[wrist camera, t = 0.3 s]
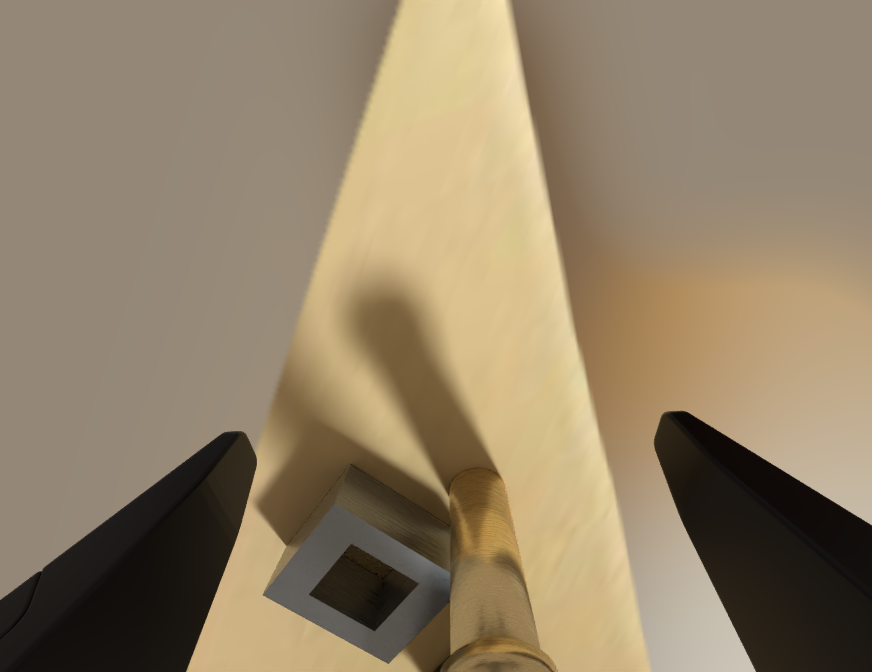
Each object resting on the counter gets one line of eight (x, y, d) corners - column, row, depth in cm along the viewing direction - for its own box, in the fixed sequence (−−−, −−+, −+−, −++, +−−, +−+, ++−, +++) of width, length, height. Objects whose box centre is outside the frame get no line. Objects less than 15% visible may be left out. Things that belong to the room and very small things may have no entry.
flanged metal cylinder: (483, 533, 29) (511, 769, 17) (428, 498, 28) (413, 717, 16) (527, 486, 28) (593, 703, 15) (471, 449, 27) (491, 644, 15)
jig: (395, 609, 31) (388, 663, 27) (286, 546, 30) (262, 594, 26) (464, 535, 29) (467, 583, 25) (350, 463, 28) (334, 503, 24)
